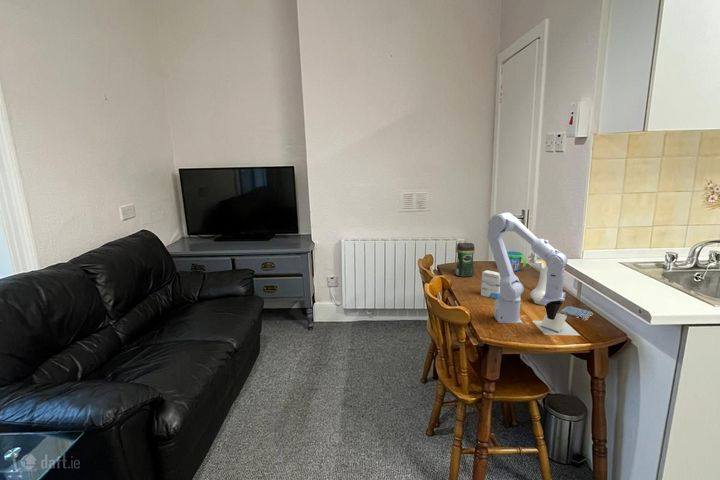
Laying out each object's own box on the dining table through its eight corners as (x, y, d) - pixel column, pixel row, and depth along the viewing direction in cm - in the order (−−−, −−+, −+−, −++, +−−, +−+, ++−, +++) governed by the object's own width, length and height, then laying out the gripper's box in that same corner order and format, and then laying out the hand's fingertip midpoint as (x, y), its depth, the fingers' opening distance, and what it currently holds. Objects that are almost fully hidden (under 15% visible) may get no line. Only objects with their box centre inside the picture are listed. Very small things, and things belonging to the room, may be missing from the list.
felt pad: (544, 335, 150) (544, 334, 150) (531, 321, 163) (532, 320, 162) (580, 336, 149) (580, 335, 149) (564, 322, 162) (564, 321, 162)
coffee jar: (470, 273, 228) (472, 241, 224) (475, 277, 221) (477, 244, 217) (453, 273, 228) (455, 241, 224) (457, 277, 220) (459, 244, 216)
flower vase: (544, 295, 193) (549, 244, 188) (563, 309, 175) (569, 254, 170) (517, 295, 193) (521, 244, 188) (533, 309, 175) (539, 254, 170)
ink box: (501, 296, 191) (503, 273, 188) (497, 299, 187) (499, 275, 185) (485, 292, 196) (486, 269, 194) (480, 295, 193) (481, 271, 190)
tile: (558, 331, 151) (565, 315, 153) (540, 325, 156) (548, 309, 158) (559, 332, 152) (567, 316, 153) (541, 326, 157) (549, 311, 159)
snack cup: (494, 268, 238) (496, 251, 236) (506, 265, 244) (507, 249, 242) (517, 274, 225) (518, 257, 223) (529, 271, 231) (530, 254, 229)
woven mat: (558, 315, 170) (558, 311, 170) (567, 308, 177) (568, 304, 177) (585, 322, 163) (585, 318, 162) (593, 315, 170) (594, 311, 169)
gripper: (555, 291, 143) (551, 327, 146) (574, 283, 151) (570, 317, 154) (536, 286, 148) (533, 320, 151) (556, 279, 157) (552, 311, 160)
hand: (550, 318), depth 153 cm, fingers closed
